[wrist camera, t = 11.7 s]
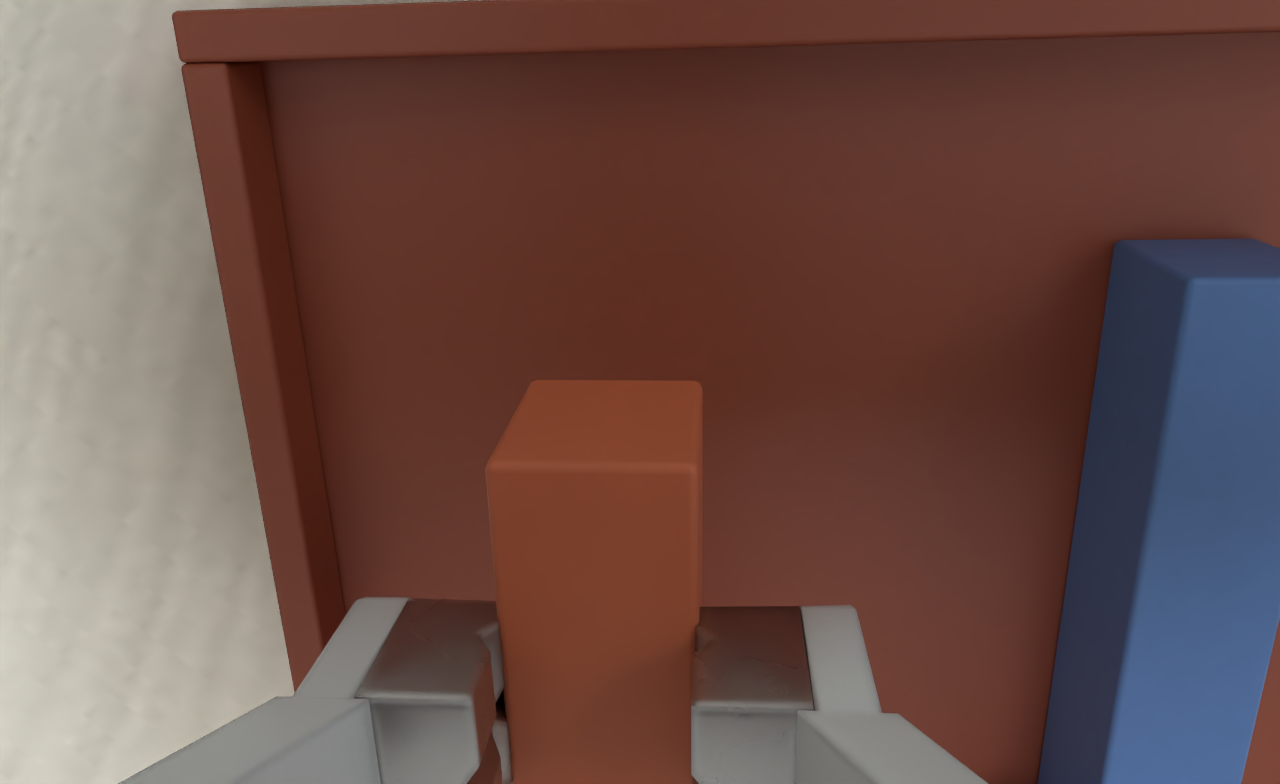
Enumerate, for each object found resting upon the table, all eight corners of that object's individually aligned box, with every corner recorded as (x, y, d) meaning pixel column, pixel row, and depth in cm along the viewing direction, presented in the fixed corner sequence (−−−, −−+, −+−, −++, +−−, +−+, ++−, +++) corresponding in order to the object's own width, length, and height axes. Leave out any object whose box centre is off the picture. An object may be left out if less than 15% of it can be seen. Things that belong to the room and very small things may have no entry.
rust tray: (231, 13, 13) (167, 10, 12) (1602, -33, 12) (1731, -42, 10) (383, 952, 19) (354, 1031, 17) (1304, 997, 18) (1358, 1087, 16)
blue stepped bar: (1041, 239, 13) (1104, 279, 11) (1330, 236, 12) (1452, 276, 10) (955, 982, 17) (987, 1109, 15) (1164, 992, 17) (1226, 1124, 15)
